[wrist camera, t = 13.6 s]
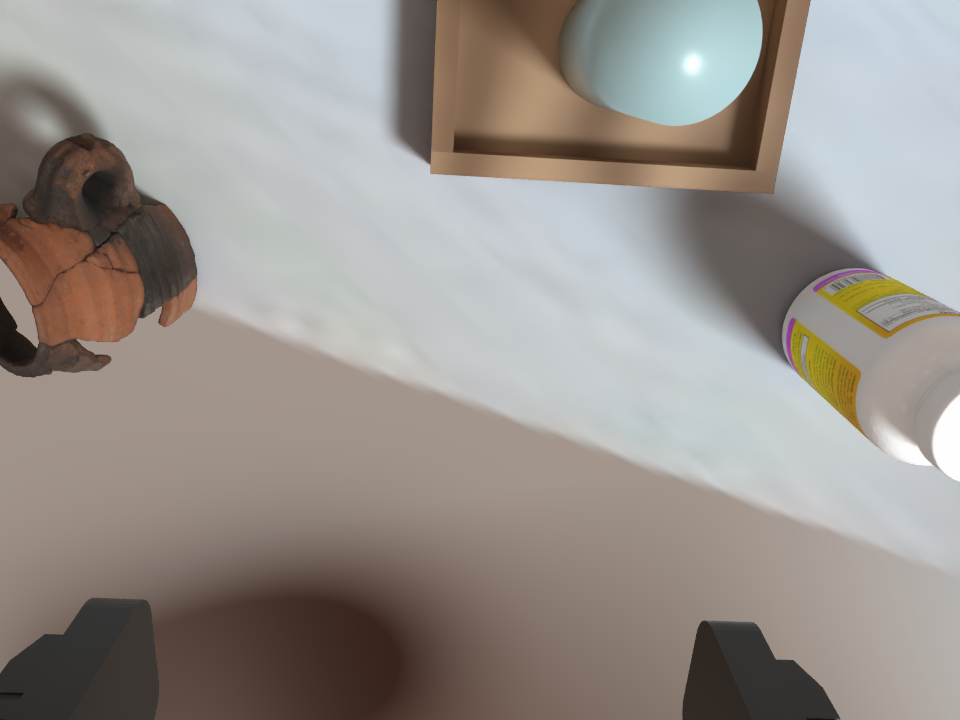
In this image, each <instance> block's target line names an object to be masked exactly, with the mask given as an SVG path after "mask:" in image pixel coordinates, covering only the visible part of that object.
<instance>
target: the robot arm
mask: <svg viewBox="0 0 960 720" xmlns="http://www.w3.org/2000/svg"><path fill="white" fill-rule="evenodd" d="M158 698H159V677H158V668H157V660H156V650H155V641H154V632H153V623H152V613H151V608H150V605H149V603H148V602H147V601H146V600H141V599H110V598H91V599H89V600H88V601H87V602H86V603H85V604H84V605H83V607H82V608H81V610H80V611H79V613H78V614H77V615H76V617H75V619H74V620H73V622H72V623H71V624H70V626H69V627H68V629H67V630H66V632H65V633H64V635H54V634H53V635H52V634H51V635H50V634H45V635H43V636H42V637H41V638H40V639H38V640H37V641H35V642H34V643H33V644H31V645H30V646H29V647H27V648H26V649H25V650H23V651H22V652H21V653H19V654H18V655H17V656H15V657H14V658H13V659H11V660H10V661H9V662H8V664H7V665H6V667H5V668H4V669H3V671H2V672H1V673H0V720H154V718H155V715H156V710H157V705H158ZM682 715H683V720H840V717H839V715H838V714H837V712H836V710H835V709H834V707H833V705H832V703H831V701H830V700H829V698H828V696H827V694H826V693H825V691H824V689H823V687H821V686H820V685H819V684H818V683H817V682H816V681H815V680H814V679H813V678H812V677H811V676H810V675H809V674H807V673H806V672H805V671H804V670H803V669H802V668H801V667H800V666H799V665H798V664H797V663H796V662H794V660H776V659H775V657H774V655H773V653H772V651H771V650H770V648H769V646H768V644H767V642H766V640H765V638H764V636H763V634H762V632H761V630H760V629H759V627H758V626H757V625H756V624H755V623H752V622H732V621H731V622H730V621H702V622H701V623H700V625H699V627H698V630H697V634H696V639H695V644H694V649H693V654H692V659H691V664H690V669H689V674H688V679H687V684H686V689H685V694H684V699H683V711H682Z"/></svg>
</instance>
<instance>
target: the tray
mask: <svg viewBox="0 0 960 720" xmlns="http://www.w3.org/2000/svg"><path fill="white" fill-rule="evenodd" d="M578 1H579V0H437V11H436V37H435V63H434V90H433V116H432V143H431V169H430V174H444V175H461V176H478V177H495V178H512V179H529V180H546V181H563V182H580V183H597V184H614V185H631V186H648V187H665V188H682V189H699V190H716V191H733V192H750V193H767V194H773V191H774V186H775V181H776V176H777V171H778V166H779V160H780V155H781V150H782V145H783V140H784V135H785V130H786V124H787V119H788V114H789V109H790V104H791V99H792V94H793V88H794V83H795V78H796V73H797V68H798V63H799V58H800V52H801V47H802V42H803V37H804V32H805V27H806V22H807V16H808V11H809V6H810V1H811V0H757V1H758V4H759V8H760V12H761V18H762V32H763V36H762V45H761V50H760V55H759V59H758V62H757V64H756V67H755V70H754V72H753V74H752V76H751V78H750V80H749V81H748V83H747V84H746V86H745V88H744V89H743V90H742V92H741V93H740V94H739V95H738V96H737V98H736V99H735V100H734V101H732V102H731V103H730V104H729V105H728V106H727V107H726V108H724V109H723V110H722V111H720V112H719V113H717V114H715V115H714V116H712V117H710V118H708V119H705V120H703V121H700V122H697V123H694V124H689V125H683V126H669V125H661V124H657V123H654V122H650V121H647V120H643V119H640V118H637V117H633V116H630V115H627V114H623V113H620V112H617V111H614V110H610V109H607V108H604V107H600V106H597V105H594V104H592V103H589V102H587V101H586V100H584V99H582V98H581V97H580V96H579V95H577V94H576V93H575V92H574V91H573V89H572V88H571V87H570V86H569V84H568V83H567V81H566V79H565V77H564V75H563V73H562V70H561V67H560V62H559V55H558V43H559V36H560V32H561V29H562V26H563V24H564V21H565V19H566V17H567V15H568V14H569V12H570V11H571V9H572V8H573V7H574V6H575V4H576V3H577V2H578Z"/></svg>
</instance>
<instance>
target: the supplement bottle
mask: <svg viewBox="0 0 960 720" xmlns="http://www.w3.org/2000/svg"><path fill="white" fill-rule="evenodd" d="M782 342H783V349H784V352H785V355H786V357H787V359H788V361H789V363H790V365H791V366H792V368H793V369H794V370H795V371H796V372H797V373H798V374H799V375H800V376H801V377H802V378H803V379H804V380H805V381H806V382H807V383H808V384H809V385H810V386H811V387H812V388H813V389H814V390H816V391H817V392H818V393H819V394H820V395H821V396H822V397H823V398H824V399H825V400H826V401H827V402H829V403H830V404H831V405H832V406H833V407H834V408H835V409H836V410H837V411H838V412H839V413H840V414H841V415H843V416H844V417H845V418H846V419H847V420H848V421H849V422H850V423H851V424H852V425H853V426H855V427H856V428H857V429H858V430H859V431H860V432H861V433H862V434H863V435H864V436H865V437H866V438H868V439H869V440H870V441H871V442H872V443H873V444H874V445H875V446H877V447H878V448H879V449H880V450H882V451H883V452H884V453H886V454H888V455H889V456H891V457H893V458H895V459H898V460H900V461H903V462H907V463H910V464H916V465H934V466H935V467H936V468H937V469H939V470H940V471H941V472H943V473H944V474H945V475H947V476H948V477H950V478H952V479H954V480H957V481H960V313H959V312H957V311H955V310H953V309H951V308H949V307H947V306H946V305H944V304H942V303H940V302H938V301H936V300H934V299H932V298H930V297H928V296H926V295H924V294H922V293H920V292H918V291H917V290H915V289H913V288H911V287H909V286H907V285H905V284H903V283H901V282H899V281H897V280H895V279H893V278H891V277H889V276H887V275H884V274H882V273H879V272H876V271H873V270H869V269H863V268H848V269H842V270H837V271H834V272H831V273H828V274H826V275H824V276H822V277H820V278H818V279H816V280H815V281H813V282H812V283H811V284H809V285H808V286H807V287H806V288H805V289H804V290H802V291H801V293H800V294H799V295H798V296H797V297H796V299H795V300H794V301H793V303H792V305H791V306H790V308H789V310H788V312H787V314H786V317H785V320H784V324H783V330H782Z"/></svg>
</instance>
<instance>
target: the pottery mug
mask: <svg viewBox="0 0 960 720" xmlns="http://www.w3.org/2000/svg"><path fill="white" fill-rule="evenodd" d="M140 199H141V198H140V195H139V192H138V191H137V190H136V189H135V185H134V177H133V173H132V170H131V167H130V165H129V164H128V162H127V160H126V158H125V156H124V155H123V153H122V152H121V151H120V150H119V149H118V148H117V147H116V146H115V145H114V144H112V143H110V142H109V141H107V140H104V139H100V138H97V137H94V136H93V135H92V134H89V133H86V134H82V135H78V136H75V137H70V138H67V139H65V140H63V141H60V142H58V143H57V144H55V145H54V146H53V147H52V148H51V149H50V150H49V151H48V152H47V153H46V155H45V156H44V158H43V159H42V162H41V164H40V167H39V169H38V177H37V182H36V186H35V188H34V189H32V190H31V191H30V192H29V193H28V194H27V195H26V196H25V198H24V200H23V208H24V210H25V212H26V213H27V214H28V215H29V218H19V219H18V218H16V215H17V212H18V209H17V207H16V205H14V204H1V205H0V258H1V259H2V261H3V262H4V263H5V264H6V266H7V267H8V268H9V269H10V271H11V272H12V273H13V275H14V276H15V278H16V279H17V281H18V282H19V284H20V286H21V287H22V289H23V291H24V293H25V295H26V297H27V299H28V301H29V303H30V304H31V305H32V312H33V314H34V318H35V322H36V326H37V332H38V339H39V344H38V348H36V347H35V346H34V345H33V344H32V343H31V342H30V341H29V340H28V339H27V338H26V337H24V336H23V335H22V334H20V333H19V332H17V331H16V329H17V324H16V322H15V320H14V319H13V317H12V316H11V314H10V313H9V311H8V310H7V309H6V307H5V305H4V304H3V302H2V300H1V298H0V365H1V366H2V367H3V368H4V369H6V370H7V371H9V372H11V373H13V374H15V375H17V376H22V377H36V376H42V375H45V374H51V373H52V371H63V372H73V373H75V372H80V371H89V370H91V371H97V370H100V369H101V368H103V367H104V366H106V365H107V364H109V363H110V362H111V357H110V356H108V355H95V354H94V353H92V352H90V351H88V350H87V349H85V348H84V347H82V346H81V344H80V343H79V342H78V341H77V340H76V339H81V340H85V341H91V340H92V341H97V342H118V341H120V339H122V338H124V337H126V336H128V335H129V334H130V333H132V332H133V330H134V328H135V325H136V322H137V319H138V318H145V317H146V316H147V315H149V314H151V313H152V312H154V311H155V309H156V308H159V307H160V306H162V305H163V306H162V312H161V315H160V318H159V321H158V322H159V324H160V325H162V326H164V327H167V326H169V325H171V324H172V323H174V322H175V321H176V320H177V319H178V318H179V317H180V316H181V315H182V314H183V313H184V312H185V311H187V310H189V309H190V308H191V307H192V304H193V302H194V300H195V296H196V291H197V268H196V263H195V255H194V252H193V249H192V247H191V244H190V240H189V238H188V236H187V234H186V231H185V229H184V228H183V226H182V225H181V224H180V223H179V221H178V219H177V218H176V217H175V215H174V214H173V213H172V212H171V210H170V209H169V208H168V207H167V206H166V205H164V204H159V205H155V206H152V205H141V204H140ZM95 226H96V227H98V228H101V229H104V230H107V231H109V232H111V236H110V237H109V238H108V239H107V240H106V241H105V242H103V243H102V244H101V245H99V246H98V247H97V246H96V244H95V242H94V239H93V237H92V236H91V235H90V234H89V233H88V231H89V230H92V229H93V228H95Z"/></svg>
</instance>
